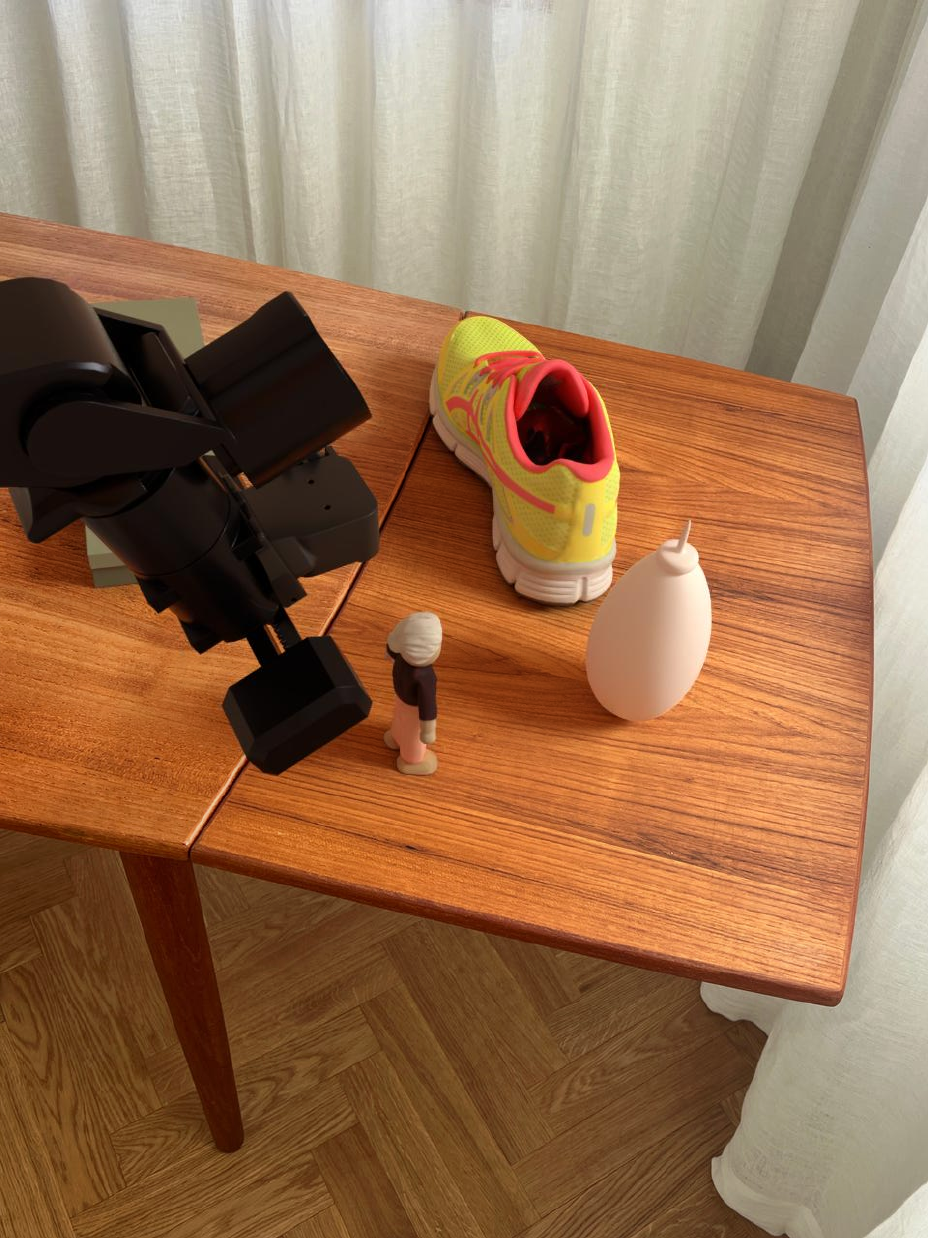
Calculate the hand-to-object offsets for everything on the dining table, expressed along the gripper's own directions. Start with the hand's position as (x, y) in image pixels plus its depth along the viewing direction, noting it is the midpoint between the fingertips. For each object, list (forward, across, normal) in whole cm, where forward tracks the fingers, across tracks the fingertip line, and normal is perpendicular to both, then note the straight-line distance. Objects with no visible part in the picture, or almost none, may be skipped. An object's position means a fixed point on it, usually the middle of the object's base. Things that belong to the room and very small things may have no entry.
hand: (306, 674), depth 64 cm
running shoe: (+22, +21, -20) cm, 37 cm away
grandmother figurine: (+14, 0, -2) cm, 14 cm away
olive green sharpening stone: (+11, +36, +4) cm, 38 cm away
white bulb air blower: (+21, -3, -16) cm, 26 cm away
